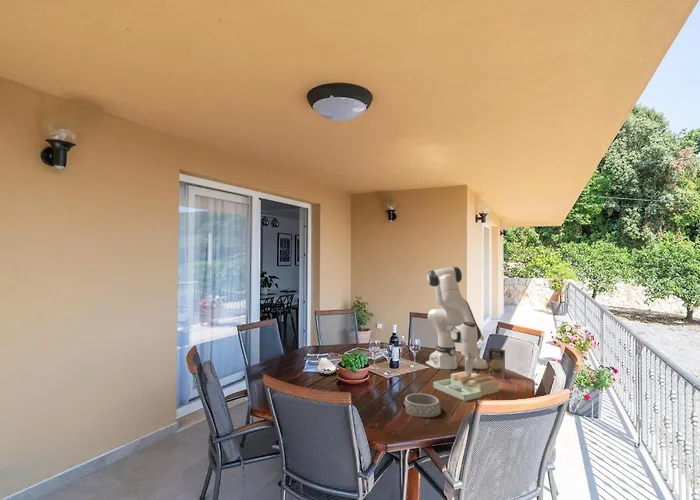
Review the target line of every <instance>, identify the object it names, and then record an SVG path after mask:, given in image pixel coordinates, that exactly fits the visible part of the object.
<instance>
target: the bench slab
mask: <svg viewBox="0 0 700 500" xmlns="http://www.w3.org/2000/svg"><path fill="white" fill-rule="evenodd" d="M461 373H465V374H467V375H468V372H465V370H464V371H459V372H455V373H454V372H453V373H450V379H451V380H454V381H457V382H459V383H462V384H464V385H467V386H470V387H472V388H475V389H478V390H480V391H482V397H483V395H484V396H487V395H486V394H488V395H491V393H492V394H495V392H497V393H499V380H496V379H493V378H491V377H487V376H484V375H483V374H478V373H476V372H473V371H472V373H471V377H469V379H468V380H464V381H460V380H459V379H457V377H456V374H461Z"/></svg>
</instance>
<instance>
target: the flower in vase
mask: <svg viewBox="0 0 700 500" xmlns="http://www.w3.org/2000/svg"><path fill="white" fill-rule="evenodd" d="M484 338H485V337H484V336H483V333H481V338H480V339H479V340H481V341H484V340H485V339H484ZM479 345H480V343H477V346H478V356H475V359H474V365H473V369H475V370H484V369H487V368H488V365H487V364H486V362H484V361H483V360H482V359H481V357H480V356H481V350H483V348H482V347H481V346H479Z"/></svg>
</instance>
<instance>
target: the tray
mask: <svg viewBox="0 0 700 500" xmlns="http://www.w3.org/2000/svg"><path fill="white" fill-rule="evenodd" d="M451 385H457V386H459V387H462V391H460V392H457V391H455V390H452V389H450V388H448V386H451ZM432 388H434V389H436V390H438V391H441V392H442V393H445V394H448V395H449V396H452V397H454V398H457V399H459V400H461V401H463V402H466V401H470V400H476V399H479V398H482V397H483V396H482V391H480V390H478V389H475V388H472V387H470V386H467V385H464V384H462V383H459V382H457V381H454V380H451V378H446V379H443V380H442V379H441V380H437V381H432Z"/></svg>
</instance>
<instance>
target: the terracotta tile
mask: <svg viewBox="0 0 700 500" xmlns="http://www.w3.org/2000/svg"><path fill="white" fill-rule="evenodd" d="M456 377H457V379H459V380H460V381H464V380H468V379H469V375H467V374H465V373H461V374H456Z"/></svg>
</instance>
